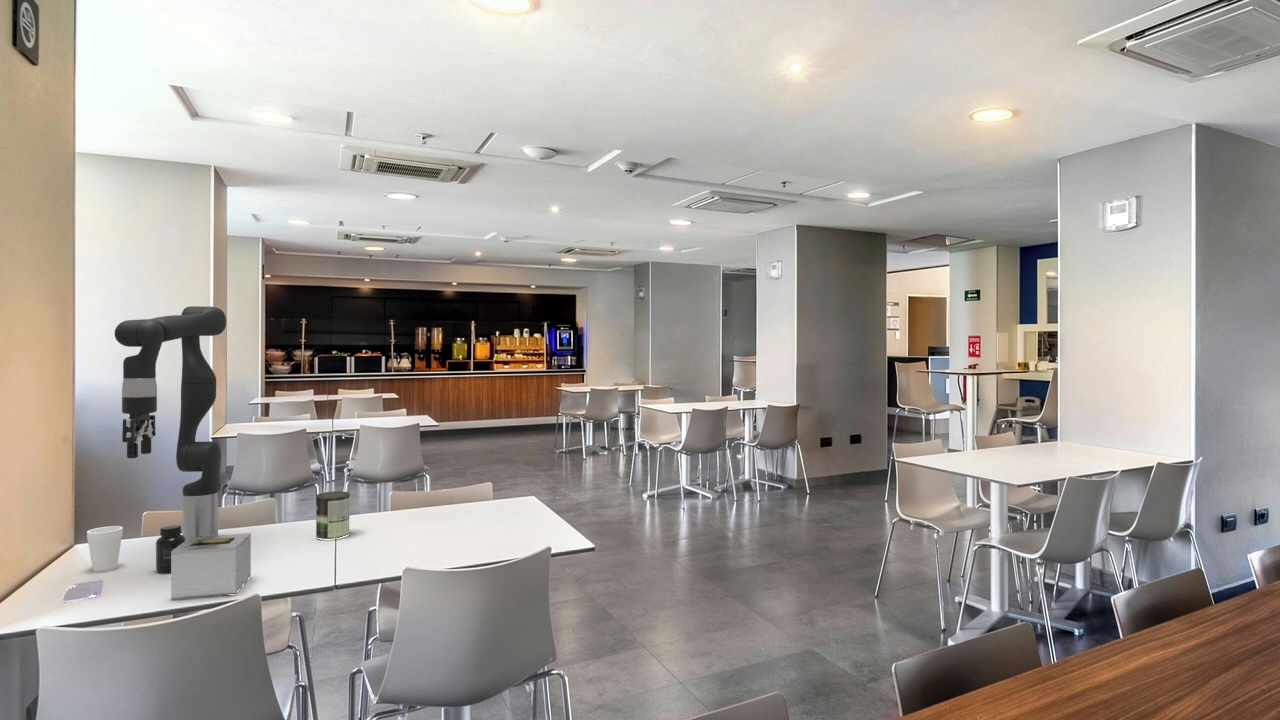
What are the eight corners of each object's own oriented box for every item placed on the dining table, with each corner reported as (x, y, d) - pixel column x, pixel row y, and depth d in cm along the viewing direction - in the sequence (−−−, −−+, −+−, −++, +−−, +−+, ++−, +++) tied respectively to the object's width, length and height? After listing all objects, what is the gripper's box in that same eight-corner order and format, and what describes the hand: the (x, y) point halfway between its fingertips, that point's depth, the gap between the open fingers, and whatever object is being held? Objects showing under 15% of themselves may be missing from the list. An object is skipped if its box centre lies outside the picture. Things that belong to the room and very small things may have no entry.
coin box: (191, 581, 179) (191, 536, 179) (250, 577, 183) (250, 533, 183) (171, 600, 166) (171, 551, 166) (235, 594, 170) (235, 547, 170)
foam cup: (107, 563, 195) (107, 525, 195) (129, 565, 193) (130, 526, 193) (79, 572, 187) (79, 532, 187) (102, 574, 185) (102, 534, 185)
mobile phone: (104, 578, 180) (101, 594, 168) (104, 582, 180) (101, 598, 168) (66, 584, 175) (61, 601, 163) (66, 588, 175) (61, 605, 163)
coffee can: (310, 541, 219) (311, 497, 219) (322, 533, 230) (322, 491, 229) (344, 540, 220) (344, 497, 220) (353, 532, 231) (354, 490, 231)
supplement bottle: (191, 566, 192) (191, 524, 192) (172, 574, 186) (172, 530, 185) (169, 565, 193) (169, 523, 193) (149, 573, 186) (149, 529, 186)
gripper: (144, 396, 175) (144, 459, 175) (166, 393, 189) (166, 451, 189) (110, 396, 173) (110, 460, 173) (134, 393, 187) (134, 452, 187)
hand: (139, 455), depth 181 cm, fingers open, 8 cm apart
